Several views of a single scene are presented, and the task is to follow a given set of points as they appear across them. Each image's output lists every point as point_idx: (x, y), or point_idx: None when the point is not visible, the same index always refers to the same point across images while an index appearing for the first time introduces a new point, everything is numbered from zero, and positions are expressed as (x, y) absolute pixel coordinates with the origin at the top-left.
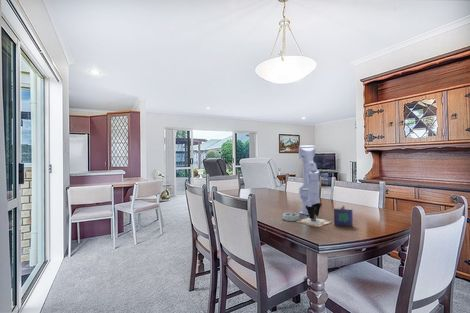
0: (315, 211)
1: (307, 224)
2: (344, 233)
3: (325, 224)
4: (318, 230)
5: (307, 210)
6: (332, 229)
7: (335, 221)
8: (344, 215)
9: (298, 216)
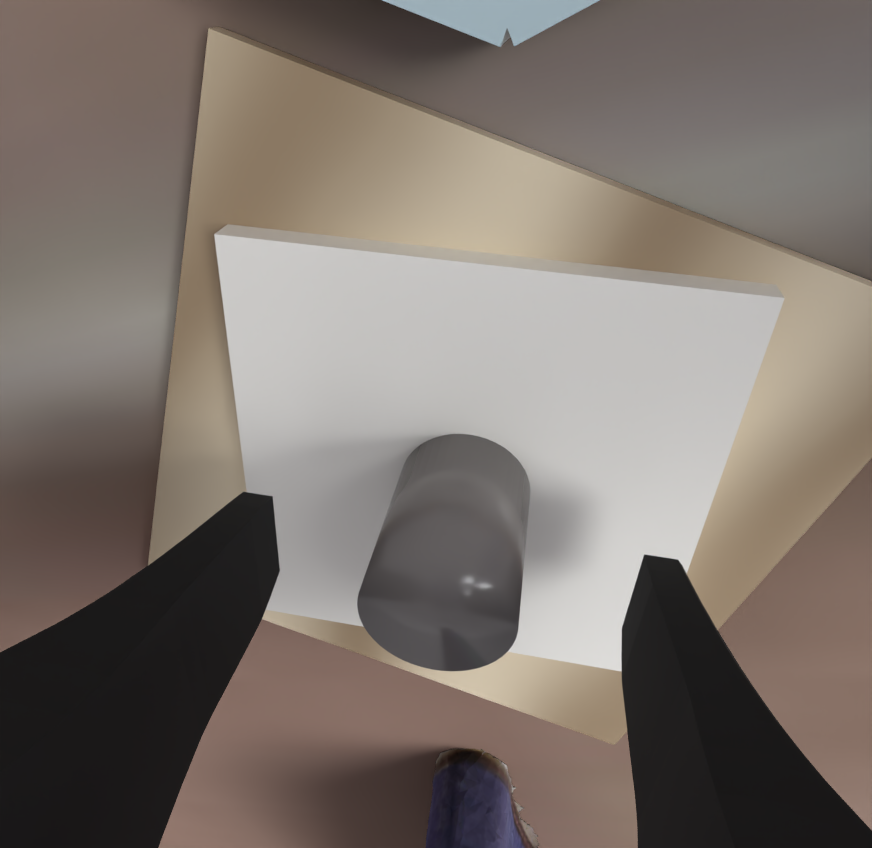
0: (654, 694)
1: (169, 390)
2: None
3: (387, 659)
4: (16, 584)
5: (19, 645)
6: None
7: (430, 826)
8: None
9: (460, 28)
